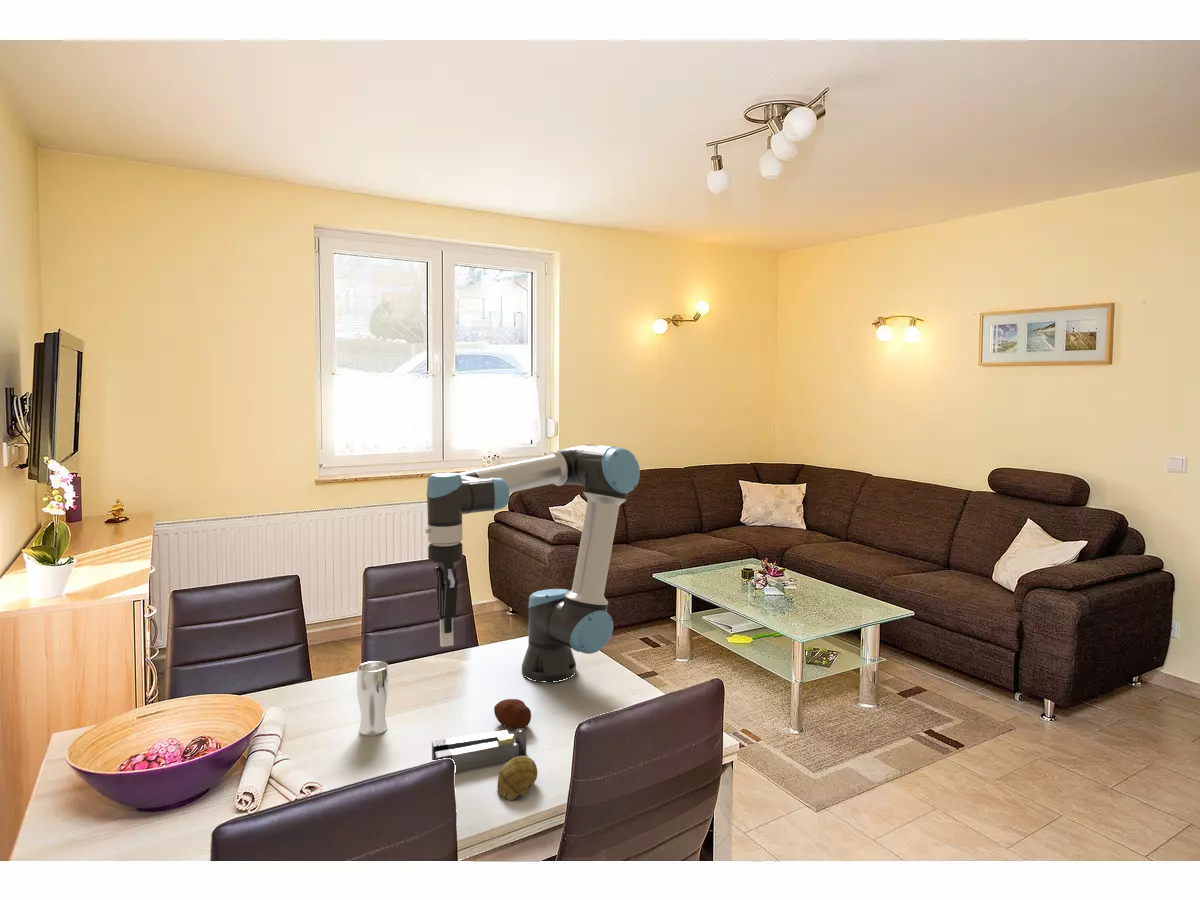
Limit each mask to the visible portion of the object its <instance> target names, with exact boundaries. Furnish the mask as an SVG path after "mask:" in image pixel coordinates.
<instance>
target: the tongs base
mask: <svg viewBox="0 0 1200 900" xmlns="http://www.w3.org/2000/svg"><path fill="white" fill-rule="evenodd" d="M527 735H528V733H527V729H526V728H524V729H523V728H520V729H517V730H515V735H514V743H513V737H512V735H506V736H501V737H497V741H494V742H488V743H483V744H478V745H472V746H467V747H462V748H456V749H451V750H450V749H448V750H443V751H437V752H435V760H438V759H443V758H451V759H453V760H454V762H455V765H456V773H455V774H458V773H459V774H460V773H465V772H469V771H474V770H480V769H483V768H484V769H485V768H489V767H493V766H499V765H505V764H506V763H507V762H508V761H510V760H511V759H513V758H515V757H520V756H526V755H527V747H528V746H527V743H528V742H527V738H528V737H527Z"/></svg>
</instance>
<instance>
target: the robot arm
mask: <svg viewBox="0 0 1200 900" xmlns="http://www.w3.org/2000/svg"><path fill="white" fill-rule="evenodd" d="M640 472H641V470H640V465H639V461H638V459H637V458H636V456H635V455H634V454H633V453H632V451H630V449H629V450H628V449H626V448H623V447H620V446H619V447H618V446H613V445H612V446H609V445H600V444H599V445H596V444H581V445H577V446H576V445H575V446H572V447H567V448H564V449H563V448H562V449H559V450H553V451H550V452H549V453H548V455H547V456H541V457H536V458H531V459H526V460H521V461H516V462H510V463H506V464H505V463H504V464H499V465H494V466H489V467H484V468H478V469H474V470H473V469H472V470H468V471H461V472H438V473H432V474H430V475H429V476H428V478H427V483H426V484H427V485H426V498H427V499H426V500H427V502H426V504H427V527H428V528H427V529H425V531H424V532H425V534H427V537H428V538H427V541H428V542H429V544H428V546H427V557H428V558H427V559H428V560H429V562H431V563H435V564H436V563H437V564H436V567H434V568H433V572H434V578H435V580H434V581H435V591H436V593H435V594H436V595H435V597H436V610H437V611H438V615H439V616H437V618H438V620H439V645H440V647H441V648H444V647H445V648H446V647H450V646H454V618H456V617H457V596H458V595H457V594H458V586H459V579H458V578H456V577H457V568H455V563H456V562H459V561H461V560H462V558H463V557H464V556H463V553H464V552H463V543H462V542H461V541H463V536H464V535H463V515H466V514H474V513H481V512H482V513H483V512H494V511H497V510H503V509H504V508H506V507H507V505H508V504H509V501H510V494H511V493H515V492H520V491H524V490H525V491H526V490H529V489H534V488H538V487H539V488H540V487H543V486H546V485H547V486H549V485H555V486H557V487H560V486H564V485H573V486H581V487H583V492H582V493H583V495H584V496H585V497H586V500H587V501H586V502H587V503H586V506H585V507H586V508H585V515H584V520H583V524H582V531H581V537H580V542H579V547H578V553H577V554H578V555H577V558H576V564H575V571H574V576H573V580H572V587H571V590H569V589H565V588H550V589H543V590H537V591H535V592H533V593H531V594H530V595H529V598H528V606H527V608H528V645H527V649H526V651H525V655H524V657H523V660H522V663H521V675H522V674H523V675H524V676H526V677H528V678H530V679H532V680H536V681H546V682H553V681H559V680H563V679H566V678H569V677H571V676H572V675H574V673H575V672H576V673H577V662H576V659H575V656H574V653H573V650H574V651H576V652H577V653H579V652H580V653H582V654H586V655H588V654H589V655H591V654H595V653H598V652H599V651H601V650H602V649H603V647H605V646H607V644H608V642H610V639H611V638H612V635H613V632H614V621H613V619H612V616H611V615H610V613H608V612H607V611H608V607H609V601H608V599H606V597H605V591H606V590H605V589H606V585H607V579H608V575H609V574H608V573H609V567H610V563H611V562H610V561H611V556H612V551H613V543H614V539H615V532H616V526H617V522H618V516H619V510H620V506H621V505H622V504H624V503H625V502H626V501H627V497H628V494H629V493H630V492H632V491H634V490H635V488H636V487H637V486H638V483H639V481H640V477H641V473H640ZM523 675H522V676H523ZM524 676H523V677H524ZM574 676H575V675H574ZM532 680H531V681H532ZM536 681H535V682H536ZM553 683H554V682H553Z"/></svg>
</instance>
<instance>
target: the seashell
mask: <svg viewBox="0 0 1200 900" xmlns="http://www.w3.org/2000/svg"><path fill="white" fill-rule="evenodd" d="M503 765H504V766H503V767H502V768H501V770H500V772H499V775H498V778H497V787H496V788H497V790H496V791H497V794H498V797H499V798H500V799H502V800H504V801H507V802H512V801H513V800H515V799H517V798H518V796H521V797H522V798H524V797H525V796H526V795H527V793H528V791H529V787H531V786H532V785H533V784H534V783H535V782H536V780H537V778H538V768H537V765H536V763H535V761H534V760H533V759H532V758H530V757H529V756H526V755H524V756H515V757H514V758H513V759H511V760H510V761H508V762H507V763H505V764H503Z"/></svg>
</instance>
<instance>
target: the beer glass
mask: <svg viewBox="0 0 1200 900" xmlns="http://www.w3.org/2000/svg"><path fill="white" fill-rule="evenodd" d="M388 667H389V666H388V663H387V662H385V661H381V660H380V661H379V660H374V661H367V662H363V663H361V664H359V665H358V667H357V671H356V693H357V694H356V695H357V700H358V705H359V711H360V723H359V729H358V733H359V734H360V735H362V736H365V737H374V736H375V737H376V736H379V735H381V734H383V733H384V732H386V731H387V729H388V724H387V719H386V707H387V701H388V696H389V686H390V685H389V683H390V680H389V670H388V669H389V668H388Z"/></svg>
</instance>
